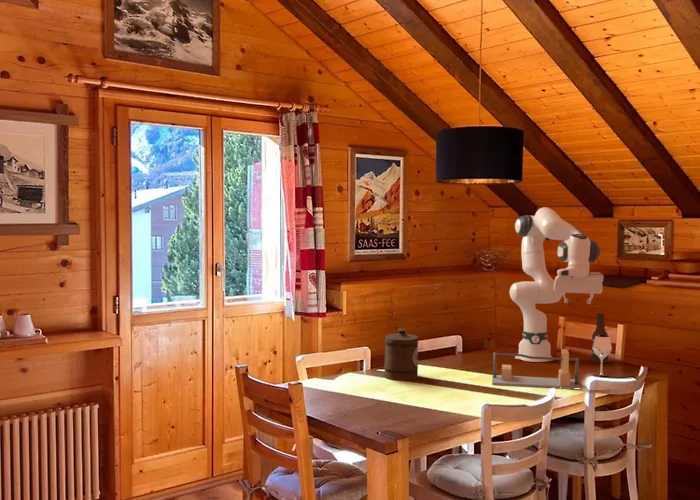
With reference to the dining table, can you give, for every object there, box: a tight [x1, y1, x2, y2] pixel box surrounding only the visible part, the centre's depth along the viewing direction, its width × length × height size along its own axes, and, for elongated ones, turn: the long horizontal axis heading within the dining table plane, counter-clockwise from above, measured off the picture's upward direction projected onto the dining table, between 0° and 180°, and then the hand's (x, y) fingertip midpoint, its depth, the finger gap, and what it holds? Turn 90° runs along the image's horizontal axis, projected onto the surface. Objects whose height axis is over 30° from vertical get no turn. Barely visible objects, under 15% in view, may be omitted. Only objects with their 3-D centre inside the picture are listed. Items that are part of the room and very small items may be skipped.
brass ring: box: [560, 348, 570, 374], centre depth 301 cm, size 8×2×9 cm, turn 168°
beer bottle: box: [590, 312, 609, 364], centre depth 348 cm, size 8×8×24 cm
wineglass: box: [591, 335, 613, 375], centre depth 320 cm, size 8×8×18 cm
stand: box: [491, 352, 581, 389], centre depth 306 cm, size 14×36×12 cm, turn 78°
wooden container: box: [384, 327, 419, 381], centre depth 317 cm, size 15×15×22 cm
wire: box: [496, 352, 576, 362], centre depth 306 cm, size 5×34×1 cm, turn 78°
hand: (577, 303), depth 309 cm, fingers open, 8 cm apart
